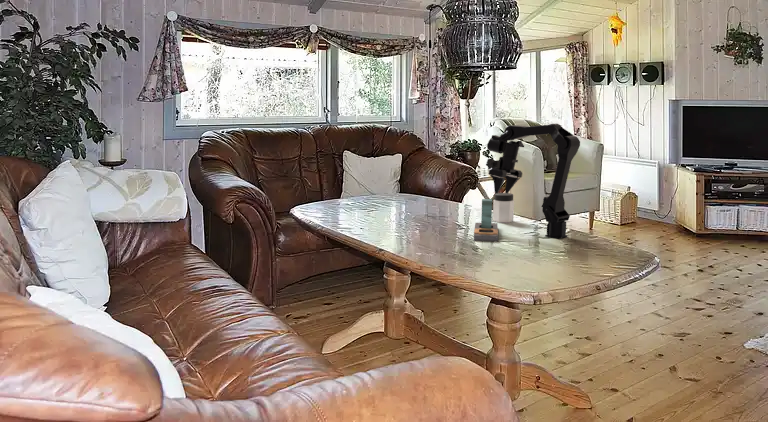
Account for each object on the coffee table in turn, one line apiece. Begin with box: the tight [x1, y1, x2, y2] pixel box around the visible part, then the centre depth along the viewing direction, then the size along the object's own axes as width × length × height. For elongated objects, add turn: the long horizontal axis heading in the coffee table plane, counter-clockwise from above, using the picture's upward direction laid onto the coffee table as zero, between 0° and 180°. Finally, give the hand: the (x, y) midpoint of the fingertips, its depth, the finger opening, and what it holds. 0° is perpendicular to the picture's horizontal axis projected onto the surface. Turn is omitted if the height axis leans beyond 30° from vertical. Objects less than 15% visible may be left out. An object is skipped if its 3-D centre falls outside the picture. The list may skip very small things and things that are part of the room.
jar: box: [492, 192, 515, 224], centre depth 283 cm, size 9×8×12 cm
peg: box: [480, 198, 493, 228], centre depth 260 cm, size 4×4×13 cm
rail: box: [473, 222, 499, 242], centre depth 256 cm, size 26×9×2 cm, turn 170°
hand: (501, 193), depth 265 cm, fingers open, 9 cm apart
